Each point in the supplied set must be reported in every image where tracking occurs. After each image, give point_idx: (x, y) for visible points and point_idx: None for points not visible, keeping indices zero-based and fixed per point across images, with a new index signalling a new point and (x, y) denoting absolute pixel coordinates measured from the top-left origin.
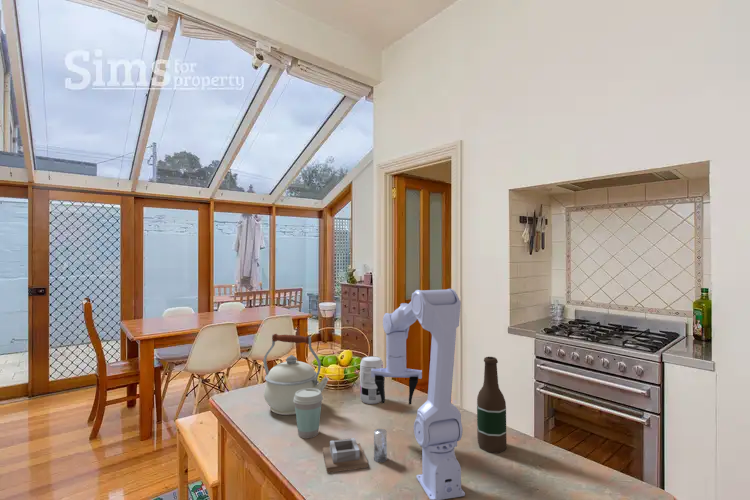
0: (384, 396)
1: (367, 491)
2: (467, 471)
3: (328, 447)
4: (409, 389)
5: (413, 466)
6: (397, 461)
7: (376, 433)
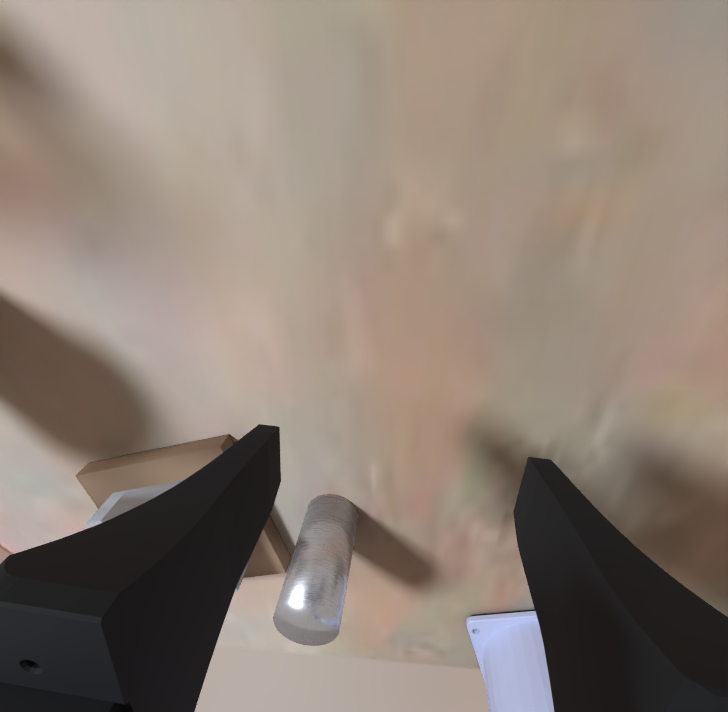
0: (261, 481)
1: (310, 648)
2: None
3: (97, 473)
4: (555, 700)
5: (465, 561)
6: (403, 530)
7: (289, 637)
